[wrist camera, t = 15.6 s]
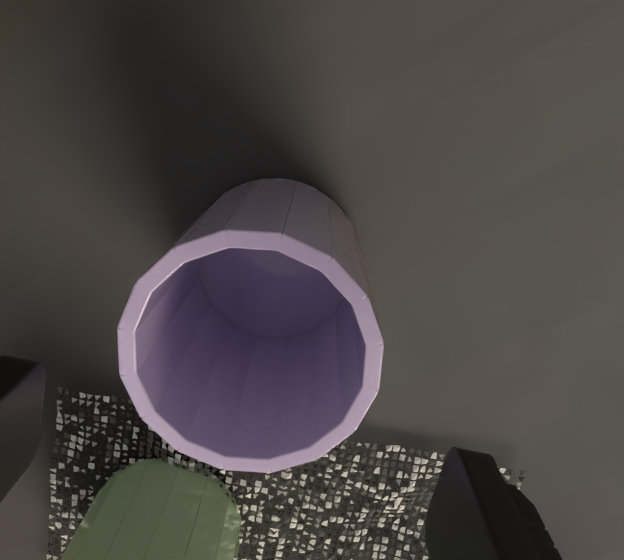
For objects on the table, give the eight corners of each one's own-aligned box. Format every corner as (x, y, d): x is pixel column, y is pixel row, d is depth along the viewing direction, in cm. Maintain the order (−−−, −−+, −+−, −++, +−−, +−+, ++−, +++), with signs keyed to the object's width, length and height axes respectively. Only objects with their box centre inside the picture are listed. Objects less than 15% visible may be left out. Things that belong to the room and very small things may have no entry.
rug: (461, 635, 28) (465, 653, 27) (48, 567, 27) (39, 583, 26) (523, 463, 25) (531, 477, 24) (62, 379, 24) (51, 391, 23)
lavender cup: (329, 152, 21) (333, 192, 13) (381, 312, 23) (414, 432, 15) (164, 210, 22) (72, 281, 14) (228, 360, 24) (179, 500, 16)
